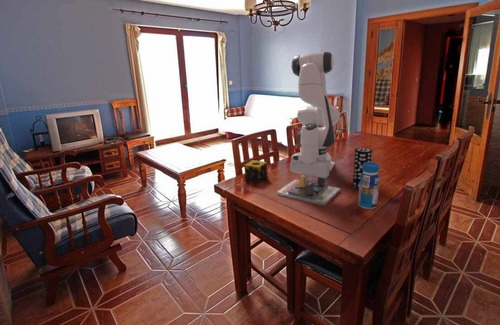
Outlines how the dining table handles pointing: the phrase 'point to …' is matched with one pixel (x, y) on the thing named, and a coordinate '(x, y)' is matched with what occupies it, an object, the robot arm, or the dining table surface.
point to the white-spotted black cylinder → (360, 163)
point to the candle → (256, 171)
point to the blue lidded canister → (369, 186)
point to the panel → (318, 197)
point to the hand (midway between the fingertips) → (309, 182)
